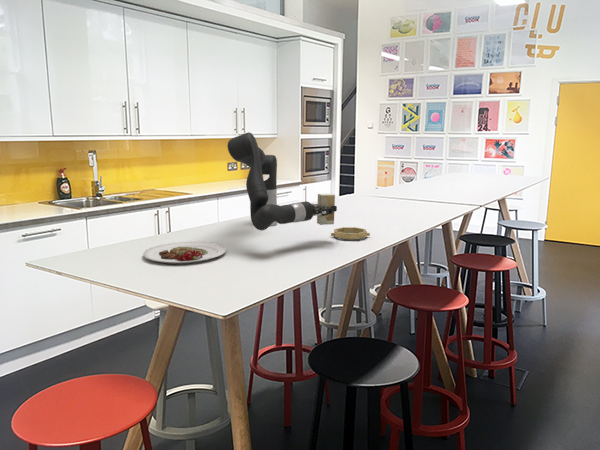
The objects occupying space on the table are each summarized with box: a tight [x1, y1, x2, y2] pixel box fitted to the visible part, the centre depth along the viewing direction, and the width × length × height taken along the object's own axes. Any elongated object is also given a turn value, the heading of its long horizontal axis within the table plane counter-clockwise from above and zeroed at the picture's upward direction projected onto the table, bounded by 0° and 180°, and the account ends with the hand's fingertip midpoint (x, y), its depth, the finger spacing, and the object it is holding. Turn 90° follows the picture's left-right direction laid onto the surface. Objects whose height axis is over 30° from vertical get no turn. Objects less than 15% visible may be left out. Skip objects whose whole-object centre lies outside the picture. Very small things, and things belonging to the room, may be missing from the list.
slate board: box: [337, 237, 366, 241], centre depth 215 cm, size 11×11×1 cm
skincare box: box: [316, 192, 336, 226], centre depth 204 cm, size 6×4×12 cm
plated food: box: [142, 241, 227, 264], centre depth 187 cm, size 30×30×3 cm
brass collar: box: [330, 226, 371, 239], centre depth 215 cm, size 16×13×2 cm
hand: (330, 207), depth 205 cm, fingers closed on skincare box, 6 cm apart
